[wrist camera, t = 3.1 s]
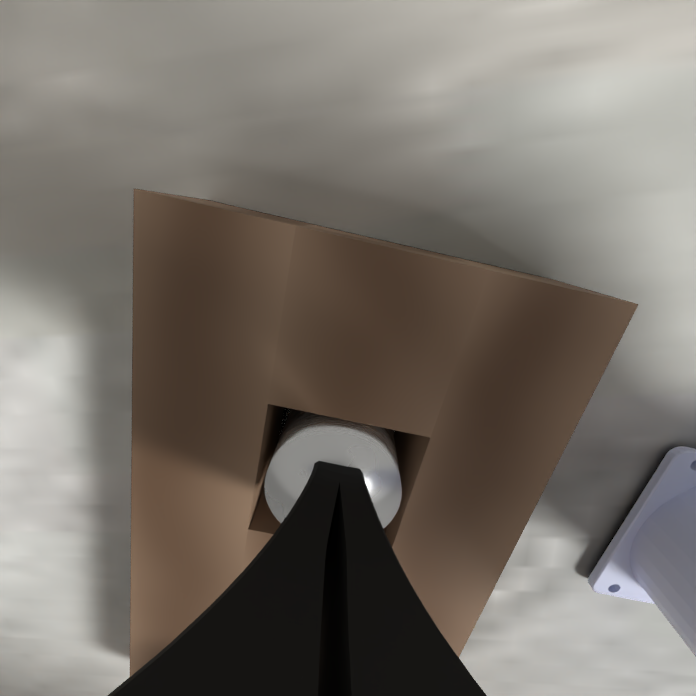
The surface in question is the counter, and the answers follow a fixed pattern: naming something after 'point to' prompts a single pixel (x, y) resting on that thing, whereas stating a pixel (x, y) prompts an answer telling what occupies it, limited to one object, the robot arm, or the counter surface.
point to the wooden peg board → (340, 397)
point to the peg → (333, 460)
